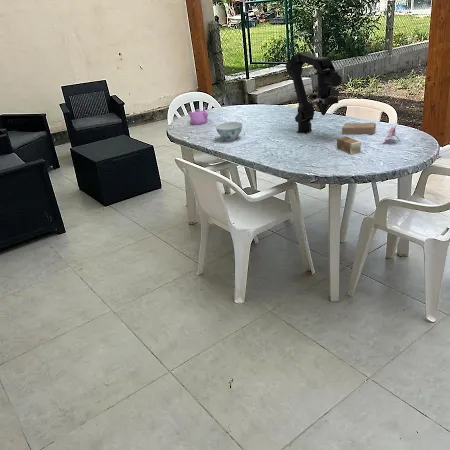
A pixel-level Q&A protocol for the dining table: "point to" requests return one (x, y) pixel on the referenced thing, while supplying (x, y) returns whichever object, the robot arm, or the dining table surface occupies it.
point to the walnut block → (349, 145)
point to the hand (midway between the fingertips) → (323, 115)
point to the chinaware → (229, 130)
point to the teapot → (198, 117)
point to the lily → (391, 132)
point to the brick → (359, 128)
